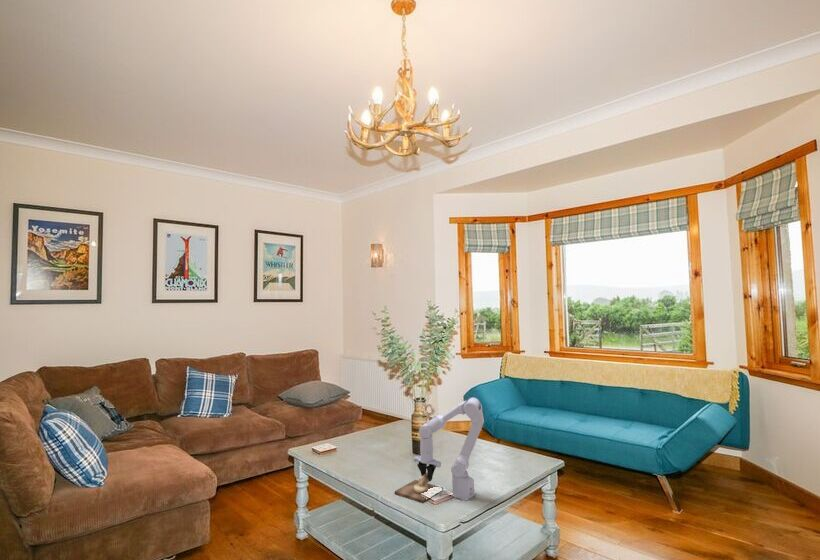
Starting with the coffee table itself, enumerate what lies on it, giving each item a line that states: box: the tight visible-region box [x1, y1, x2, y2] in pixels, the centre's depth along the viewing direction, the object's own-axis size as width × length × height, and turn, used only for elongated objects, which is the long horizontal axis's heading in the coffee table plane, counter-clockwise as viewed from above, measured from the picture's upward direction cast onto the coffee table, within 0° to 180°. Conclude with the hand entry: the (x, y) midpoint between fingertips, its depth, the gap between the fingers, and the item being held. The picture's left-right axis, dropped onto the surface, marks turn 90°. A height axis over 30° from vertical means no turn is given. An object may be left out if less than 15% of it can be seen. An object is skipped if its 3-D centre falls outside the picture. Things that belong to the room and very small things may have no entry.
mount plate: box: [394, 479, 444, 504], centre depth 207 cm, size 16×16×1 cm
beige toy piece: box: [414, 471, 431, 494], centre depth 207 cm, size 11×6×6 cm, turn 146°
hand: (427, 479), depth 209 cm, fingers open, 3 cm apart
